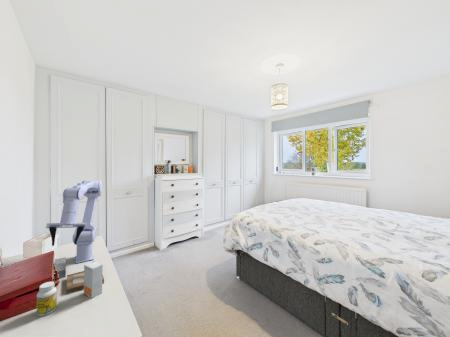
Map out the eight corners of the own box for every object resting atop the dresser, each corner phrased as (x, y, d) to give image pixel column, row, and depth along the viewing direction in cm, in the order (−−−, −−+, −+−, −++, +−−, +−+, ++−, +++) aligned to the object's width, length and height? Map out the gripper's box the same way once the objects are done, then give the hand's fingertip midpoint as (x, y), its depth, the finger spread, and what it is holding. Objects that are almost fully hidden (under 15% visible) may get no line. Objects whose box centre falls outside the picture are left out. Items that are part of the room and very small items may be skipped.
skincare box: (83, 294, 81) (83, 264, 81) (94, 288, 85) (94, 260, 85) (91, 299, 78) (92, 268, 78) (102, 293, 82) (103, 264, 82)
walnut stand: (66, 279, 91) (66, 274, 91) (100, 270, 99) (100, 266, 99) (66, 294, 81) (66, 289, 81) (103, 283, 89) (103, 278, 89)
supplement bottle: (59, 304, 75) (60, 279, 75) (50, 315, 70) (51, 288, 69) (42, 306, 74) (43, 280, 73) (32, 317, 68) (32, 289, 68)
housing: (54, 273, 95) (55, 259, 95) (65, 271, 98) (65, 257, 97) (54, 279, 90) (54, 264, 90) (65, 277, 93) (65, 262, 93)
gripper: (48, 212, 85) (41, 246, 80) (89, 212, 93) (85, 243, 89) (49, 214, 90) (42, 246, 85) (87, 214, 99) (83, 243, 94)
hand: (64, 244), depth 88 cm, fingers open, 7 cm apart
